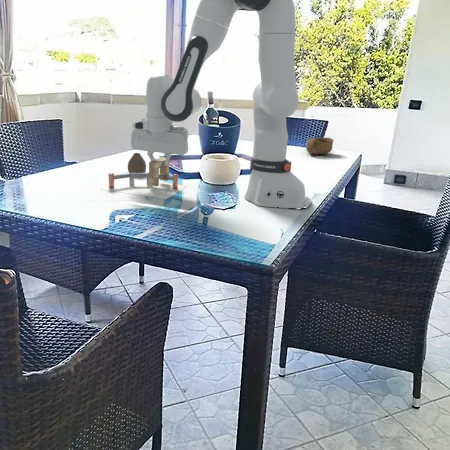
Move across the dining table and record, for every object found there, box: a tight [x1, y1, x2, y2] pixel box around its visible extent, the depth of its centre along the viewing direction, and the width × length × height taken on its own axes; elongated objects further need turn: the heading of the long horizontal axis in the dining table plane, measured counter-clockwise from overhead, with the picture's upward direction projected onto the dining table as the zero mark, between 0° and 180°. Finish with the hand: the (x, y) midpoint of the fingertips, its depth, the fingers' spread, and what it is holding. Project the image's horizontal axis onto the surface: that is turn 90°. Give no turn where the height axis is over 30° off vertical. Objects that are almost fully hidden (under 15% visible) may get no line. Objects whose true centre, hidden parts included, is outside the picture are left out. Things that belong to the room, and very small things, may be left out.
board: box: [101, 177, 188, 200], centre depth 170 cm, size 24×19×1 cm
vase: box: [127, 152, 147, 173], centre depth 186 cm, size 7×7×9 cm
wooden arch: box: [148, 156, 170, 186], centre depth 171 cm, size 3×10×8 cm, turn 162°
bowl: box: [305, 136, 334, 155], centre depth 250 cm, size 18×14×10 cm
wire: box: [108, 172, 179, 189], centre depth 170 cm, size 23×6×5 cm, turn 100°
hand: (159, 164), depth 170 cm, fingers closed on wooden arch, 3 cm apart
